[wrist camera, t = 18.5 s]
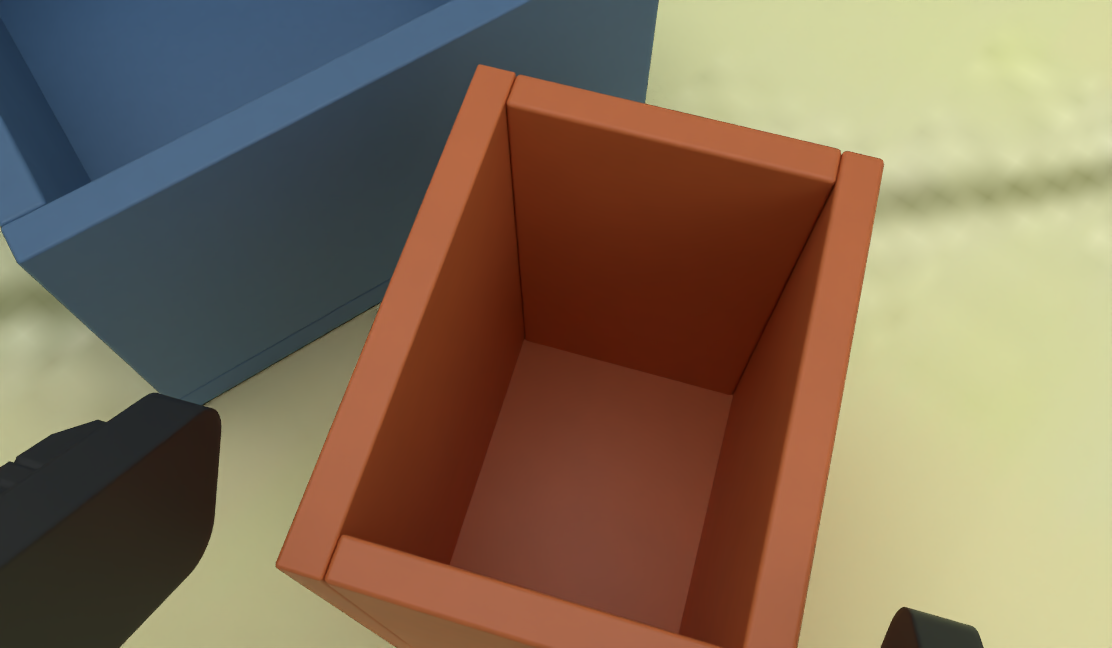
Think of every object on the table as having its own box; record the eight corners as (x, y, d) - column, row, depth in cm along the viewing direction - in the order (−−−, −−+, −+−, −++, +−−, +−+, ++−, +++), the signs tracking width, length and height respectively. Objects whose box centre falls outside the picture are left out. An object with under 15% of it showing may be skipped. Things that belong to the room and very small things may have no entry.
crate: (684, 737, 19) (785, 724, 10) (395, 647, 19) (272, 566, 11) (759, 388, 22) (886, 157, 13) (507, 321, 22) (477, 61, 14)
